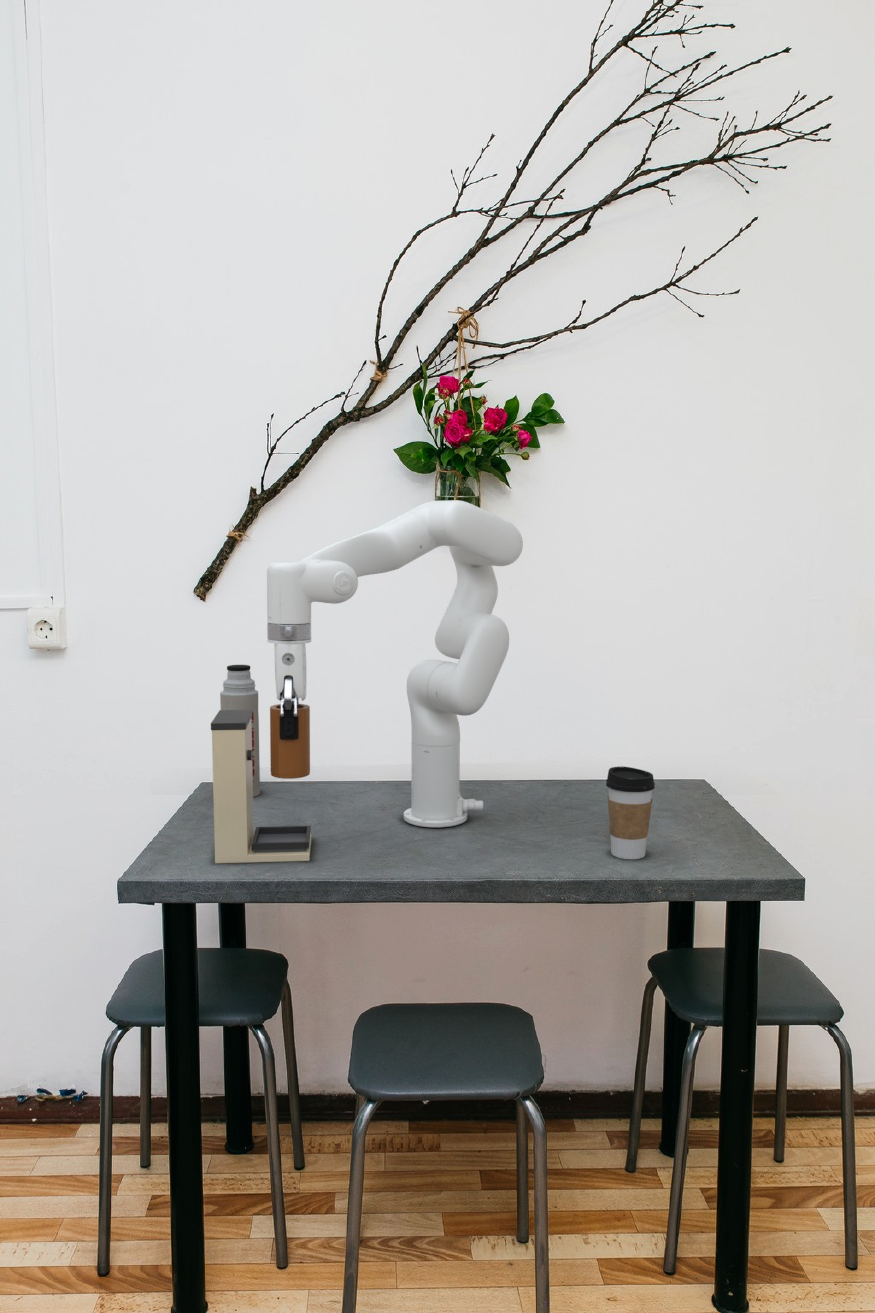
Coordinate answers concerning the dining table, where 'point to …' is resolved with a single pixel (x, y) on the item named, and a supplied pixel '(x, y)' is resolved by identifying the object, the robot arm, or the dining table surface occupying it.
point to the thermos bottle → (244, 697)
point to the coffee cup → (629, 810)
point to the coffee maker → (245, 800)
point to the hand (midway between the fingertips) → (290, 734)
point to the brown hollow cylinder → (290, 746)
